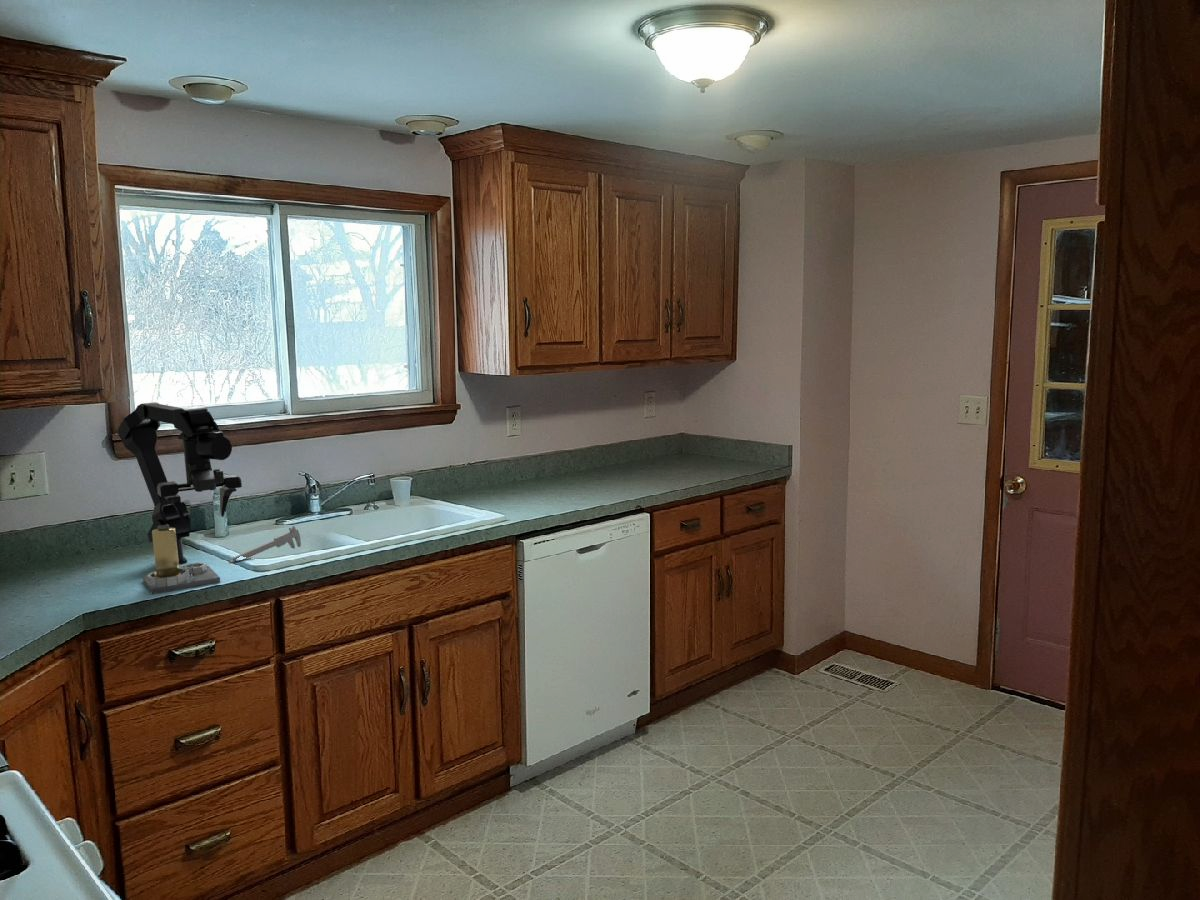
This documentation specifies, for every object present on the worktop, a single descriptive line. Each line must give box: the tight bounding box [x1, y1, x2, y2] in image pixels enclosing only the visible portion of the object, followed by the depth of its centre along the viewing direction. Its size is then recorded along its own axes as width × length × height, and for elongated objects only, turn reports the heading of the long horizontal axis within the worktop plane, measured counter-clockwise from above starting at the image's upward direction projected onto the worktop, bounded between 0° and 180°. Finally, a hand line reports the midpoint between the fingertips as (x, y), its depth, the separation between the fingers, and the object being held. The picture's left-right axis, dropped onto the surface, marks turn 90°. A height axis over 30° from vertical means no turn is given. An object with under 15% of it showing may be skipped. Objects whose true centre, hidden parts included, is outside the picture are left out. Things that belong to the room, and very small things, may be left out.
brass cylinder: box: [152, 524, 181, 578], centre depth 216 cm, size 5×5×14 cm
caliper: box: [228, 525, 302, 564], centre depth 244 cm, size 20×1×6 cm, turn 140°
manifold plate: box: [142, 562, 221, 595], centre depth 221 cm, size 13×15×3 cm
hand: (203, 519), depth 229 cm, fingers open, 9 cm apart
